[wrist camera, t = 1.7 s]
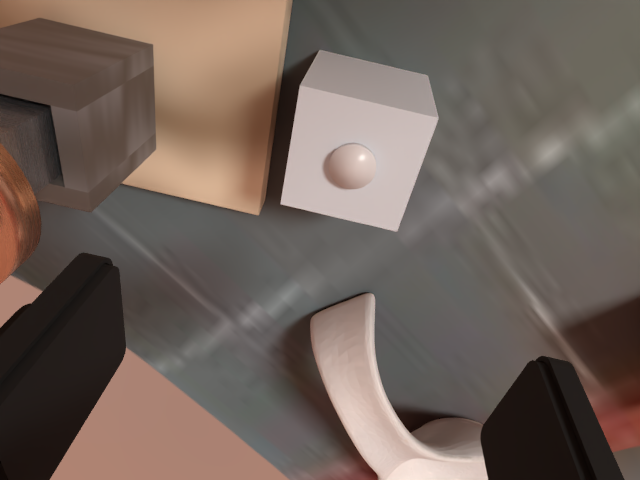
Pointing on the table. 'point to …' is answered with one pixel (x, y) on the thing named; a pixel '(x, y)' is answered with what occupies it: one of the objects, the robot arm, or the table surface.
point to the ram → (23, 176)
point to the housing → (358, 140)
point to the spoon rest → (386, 405)
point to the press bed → (152, 93)
